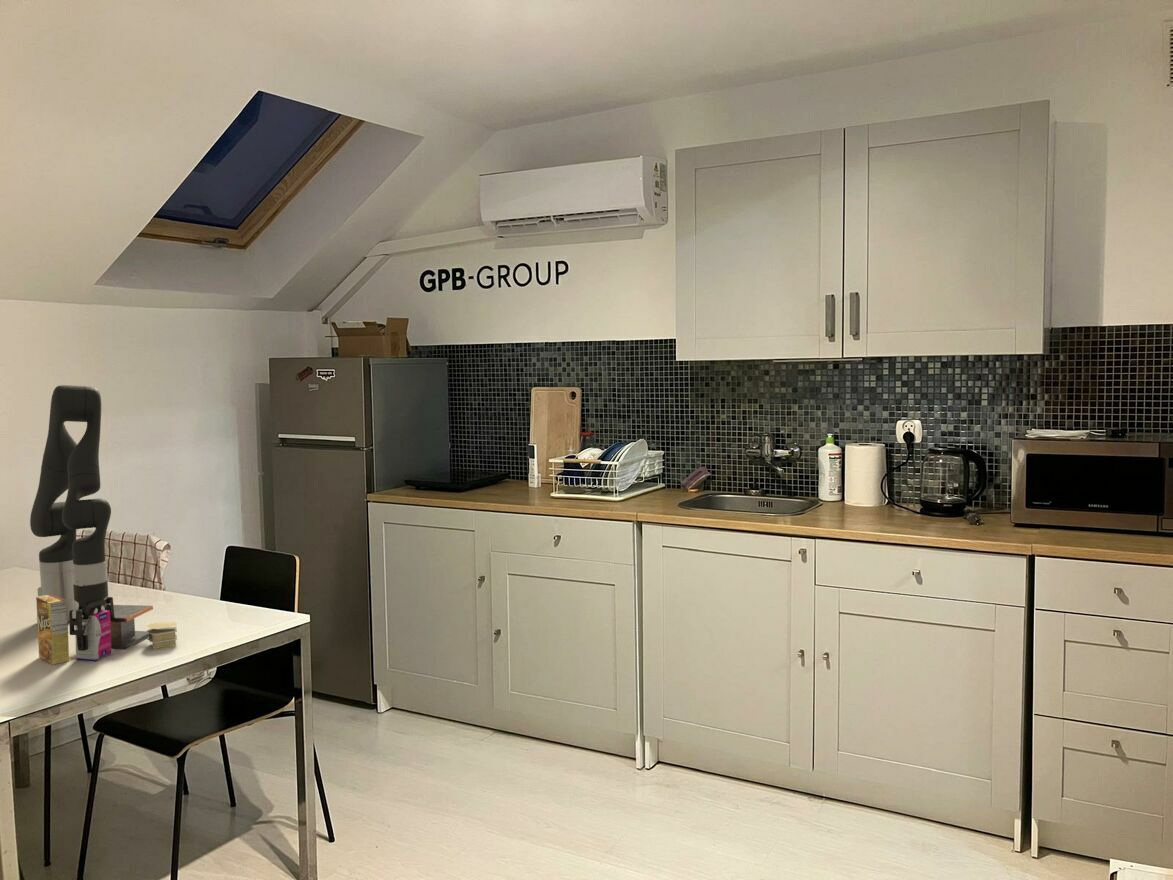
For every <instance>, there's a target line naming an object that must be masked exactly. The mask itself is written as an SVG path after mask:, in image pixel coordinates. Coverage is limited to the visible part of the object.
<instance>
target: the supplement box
mask: <svg viewBox="0 0 1173 880" xmlns="http://www.w3.org/2000/svg"><path fill="white" fill-rule="evenodd" d="M89 617H92V621H91V622H92V626H91V627H89V629H88V632H87V637H88V649H87V650H86V651H79V650H78V647H77V636H76V635H74V636H75V660H76V661H80V662H81V661H82V662H83V661H84V662H91V663H92V662H98V661H99V660H101V659H104V658H106V657H109V656H112V649H111V620H110V611H109V610H104V611H103V612H100V611H99V612H97V614H96V615H93V616H89ZM88 620H89V618H88V619H85V620H83V619H82V622H87V621H88ZM76 627H77V625H75V630H76ZM83 629H84V627H82V630H83Z"/></svg>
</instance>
